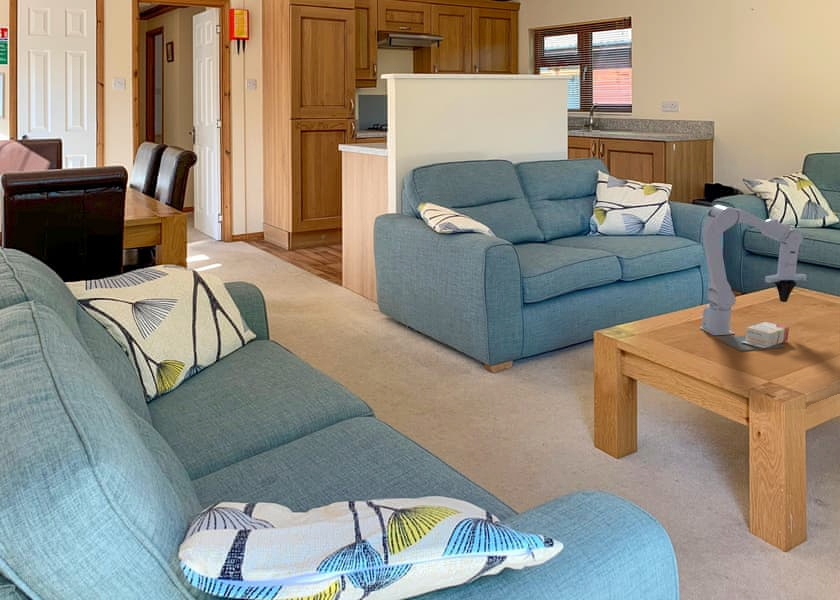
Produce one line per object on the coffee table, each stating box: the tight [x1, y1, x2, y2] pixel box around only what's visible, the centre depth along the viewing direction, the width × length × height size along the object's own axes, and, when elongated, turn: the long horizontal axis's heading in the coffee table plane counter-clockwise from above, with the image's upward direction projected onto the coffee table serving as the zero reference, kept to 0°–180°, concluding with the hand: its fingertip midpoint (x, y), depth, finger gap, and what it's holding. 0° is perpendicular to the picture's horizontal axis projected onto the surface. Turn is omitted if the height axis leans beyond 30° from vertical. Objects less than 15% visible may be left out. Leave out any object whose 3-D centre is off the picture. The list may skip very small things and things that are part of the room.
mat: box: [716, 334, 785, 352], centre depth 255 cm, size 14×16×1 cm
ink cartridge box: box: [741, 321, 790, 348], centre depth 255 cm, size 9×5×15 cm
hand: (783, 301), depth 267 cm, fingers closed
